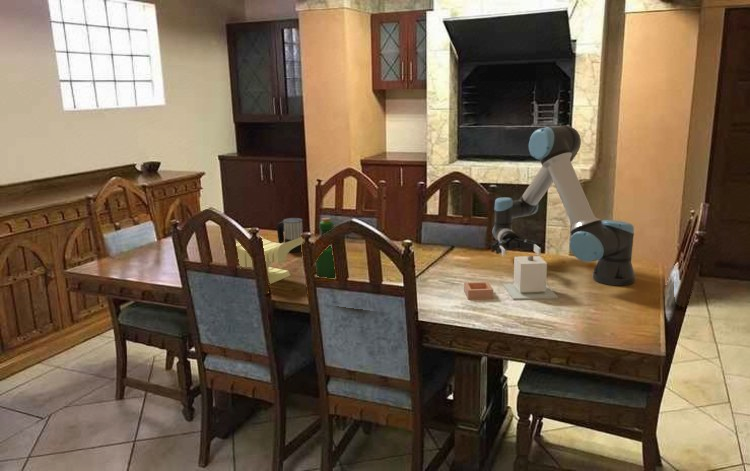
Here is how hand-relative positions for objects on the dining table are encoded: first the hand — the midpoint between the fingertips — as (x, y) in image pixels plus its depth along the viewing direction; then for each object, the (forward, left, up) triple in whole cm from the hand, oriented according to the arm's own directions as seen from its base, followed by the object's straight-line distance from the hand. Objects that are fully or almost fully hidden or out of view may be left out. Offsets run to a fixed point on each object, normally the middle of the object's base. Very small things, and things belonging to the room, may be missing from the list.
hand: (522, 252), depth 231 cm
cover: (-9, +7, -11) cm, 16 cm away
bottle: (+46, +58, -12) cm, 75 cm away
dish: (+2, +23, -12) cm, 26 cm away
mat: (-9, +7, -12) cm, 16 cm away
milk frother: (+104, +40, -12) cm, 112 cm away
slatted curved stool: (+76, +68, -12) cm, 103 cm away
